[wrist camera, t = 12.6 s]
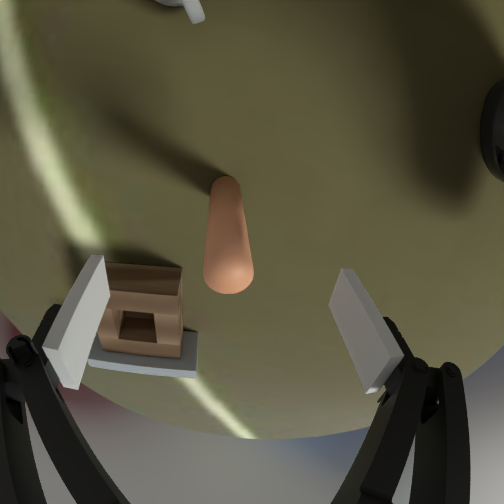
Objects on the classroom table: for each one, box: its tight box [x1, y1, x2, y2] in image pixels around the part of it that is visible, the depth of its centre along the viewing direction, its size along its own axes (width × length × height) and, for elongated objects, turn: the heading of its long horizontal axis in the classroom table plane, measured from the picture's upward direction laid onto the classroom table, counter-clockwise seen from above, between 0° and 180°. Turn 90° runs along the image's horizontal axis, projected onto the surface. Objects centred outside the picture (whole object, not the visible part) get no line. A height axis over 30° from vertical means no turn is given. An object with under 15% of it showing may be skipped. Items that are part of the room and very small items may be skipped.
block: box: [97, 262, 183, 359], centre depth 32 cm, size 10×10×5 cm
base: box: [87, 331, 198, 378], centre depth 35 cm, size 2×14×6 cm, turn 82°
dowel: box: [203, 176, 254, 294], centre depth 22 cm, size 3×3×14 cm
